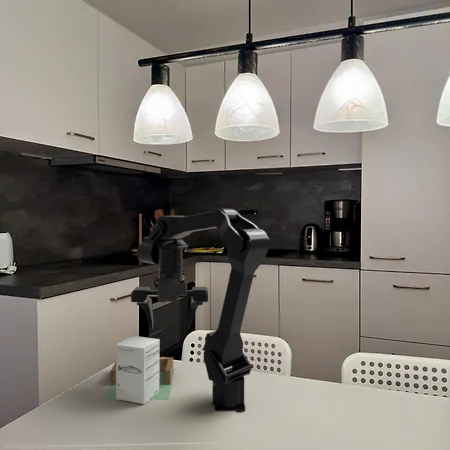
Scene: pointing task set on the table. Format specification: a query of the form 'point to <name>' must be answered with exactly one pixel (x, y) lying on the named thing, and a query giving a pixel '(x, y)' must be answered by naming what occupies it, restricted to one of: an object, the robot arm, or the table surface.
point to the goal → (164, 366)
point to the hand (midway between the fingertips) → (170, 328)
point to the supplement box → (137, 369)
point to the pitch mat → (161, 395)
